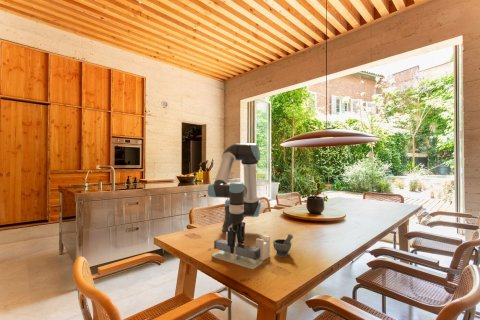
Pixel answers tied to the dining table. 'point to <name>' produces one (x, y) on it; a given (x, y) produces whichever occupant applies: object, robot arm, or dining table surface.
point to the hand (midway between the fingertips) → (236, 257)
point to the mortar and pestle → (282, 246)
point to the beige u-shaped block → (263, 247)
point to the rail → (238, 249)
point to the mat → (237, 259)
